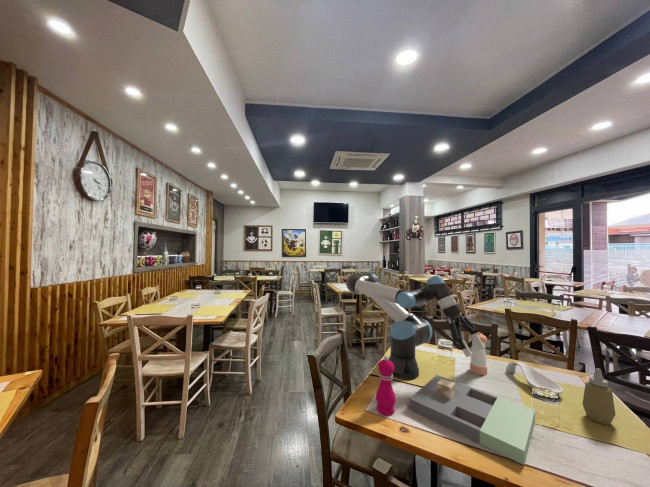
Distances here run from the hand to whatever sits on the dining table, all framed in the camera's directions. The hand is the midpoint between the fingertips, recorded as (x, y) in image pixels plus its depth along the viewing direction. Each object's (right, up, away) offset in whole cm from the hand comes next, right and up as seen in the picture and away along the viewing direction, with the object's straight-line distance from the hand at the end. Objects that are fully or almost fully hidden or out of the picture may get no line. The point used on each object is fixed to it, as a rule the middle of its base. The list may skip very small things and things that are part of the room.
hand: (475, 352), depth 111 cm
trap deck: (-14, -15, -19) cm, 28 cm away
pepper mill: (-44, -14, -17) cm, 49 cm away
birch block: (-20, -11, -13) cm, 26 cm away
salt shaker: (+10, -16, +14) cm, 23 cm away
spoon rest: (+27, -16, +3) cm, 31 cm away
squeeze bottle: (+32, -16, -21) cm, 41 cm away
